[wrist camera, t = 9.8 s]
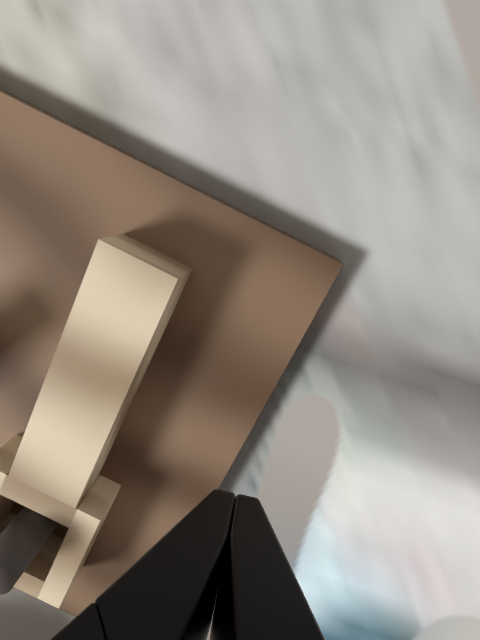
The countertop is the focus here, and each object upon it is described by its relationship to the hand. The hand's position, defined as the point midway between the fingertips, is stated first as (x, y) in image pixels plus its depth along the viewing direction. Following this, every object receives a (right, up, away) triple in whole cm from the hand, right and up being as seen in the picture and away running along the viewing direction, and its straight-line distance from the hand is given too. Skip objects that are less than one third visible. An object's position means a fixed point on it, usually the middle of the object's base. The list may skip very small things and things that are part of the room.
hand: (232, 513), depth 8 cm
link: (-7, -1, +13) cm, 15 cm away
